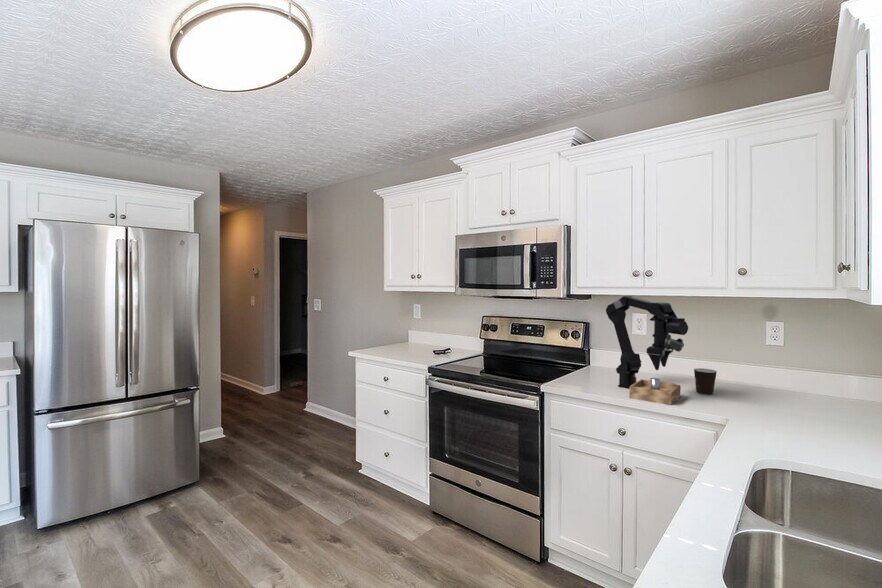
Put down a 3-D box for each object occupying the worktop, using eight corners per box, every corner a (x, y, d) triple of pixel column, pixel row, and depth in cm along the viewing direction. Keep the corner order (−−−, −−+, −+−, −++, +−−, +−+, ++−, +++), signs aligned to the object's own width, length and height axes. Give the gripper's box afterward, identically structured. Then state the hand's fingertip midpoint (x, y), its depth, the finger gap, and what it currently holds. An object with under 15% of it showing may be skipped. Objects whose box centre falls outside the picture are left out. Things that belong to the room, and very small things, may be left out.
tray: (629, 397, 189) (629, 386, 189) (640, 390, 202) (641, 379, 201) (670, 405, 179) (671, 392, 179) (680, 396, 191) (680, 385, 191)
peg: (649, 397, 190) (649, 378, 190) (651, 395, 193) (652, 377, 192) (658, 399, 188) (658, 380, 187) (660, 397, 190) (661, 378, 190)
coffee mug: (711, 396, 191) (712, 373, 191) (690, 392, 198) (690, 370, 197) (721, 392, 198) (722, 369, 198) (700, 388, 205) (701, 366, 205)
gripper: (675, 336, 179) (674, 374, 180) (688, 331, 193) (687, 367, 194) (646, 333, 187) (645, 370, 187) (660, 329, 200) (659, 364, 201)
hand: (660, 368), depth 192 cm, fingers open, 9 cm apart
